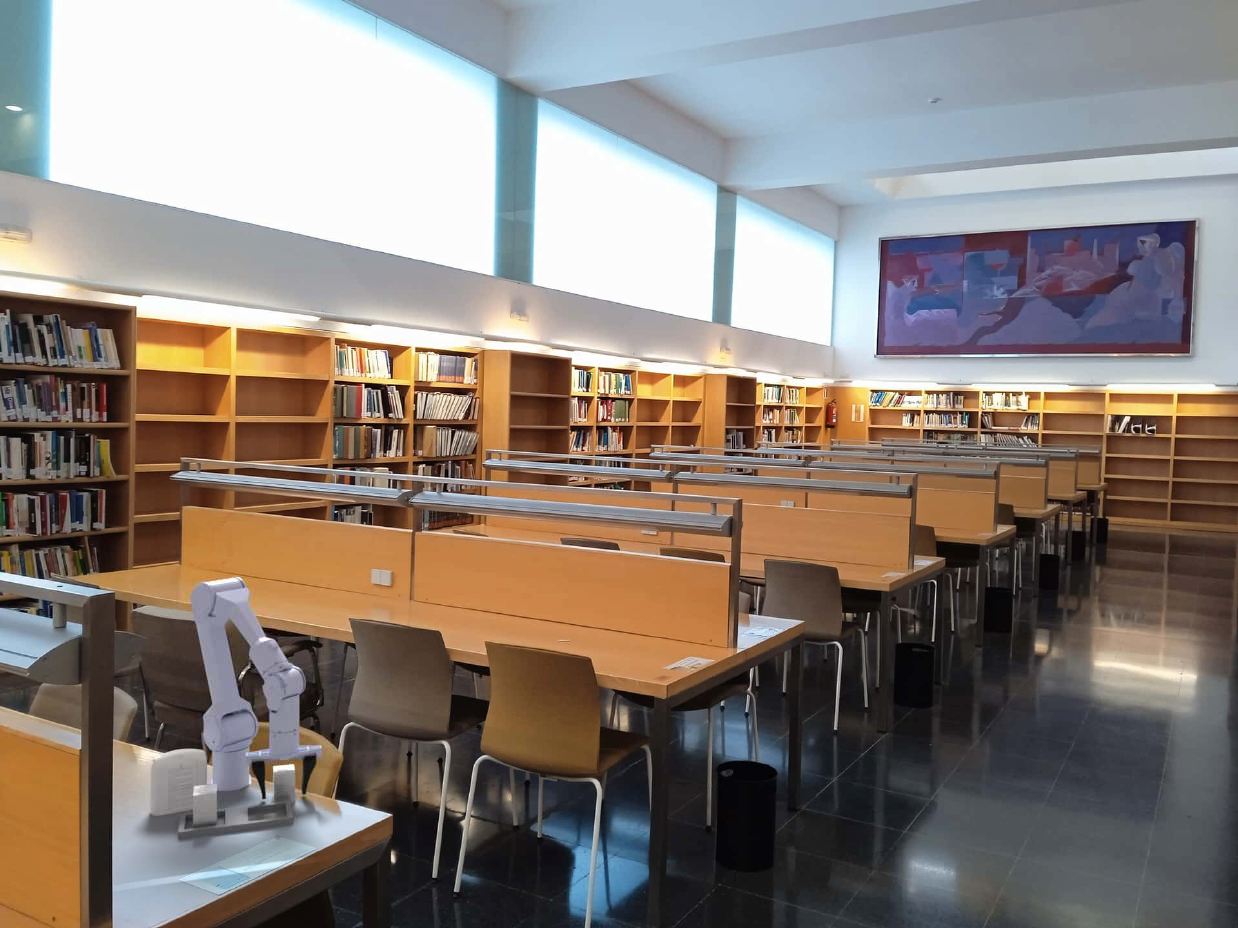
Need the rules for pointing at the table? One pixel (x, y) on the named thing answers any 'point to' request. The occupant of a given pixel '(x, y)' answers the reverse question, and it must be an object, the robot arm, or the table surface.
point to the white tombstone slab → (176, 780)
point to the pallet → (239, 819)
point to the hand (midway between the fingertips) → (283, 795)
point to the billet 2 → (284, 783)
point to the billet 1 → (205, 806)
